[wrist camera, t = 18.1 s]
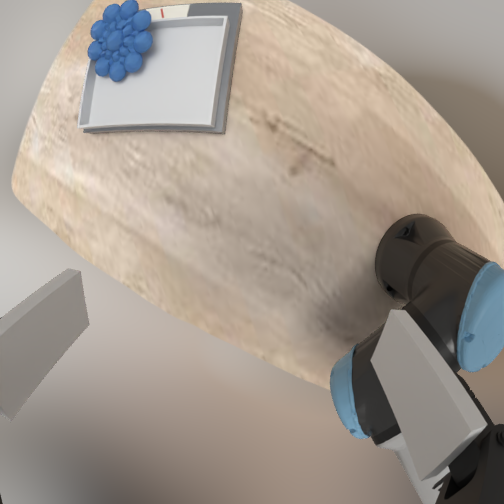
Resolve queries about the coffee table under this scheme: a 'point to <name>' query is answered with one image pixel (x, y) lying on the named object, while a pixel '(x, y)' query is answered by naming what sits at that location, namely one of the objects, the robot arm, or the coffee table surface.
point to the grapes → (120, 40)
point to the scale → (170, 75)
